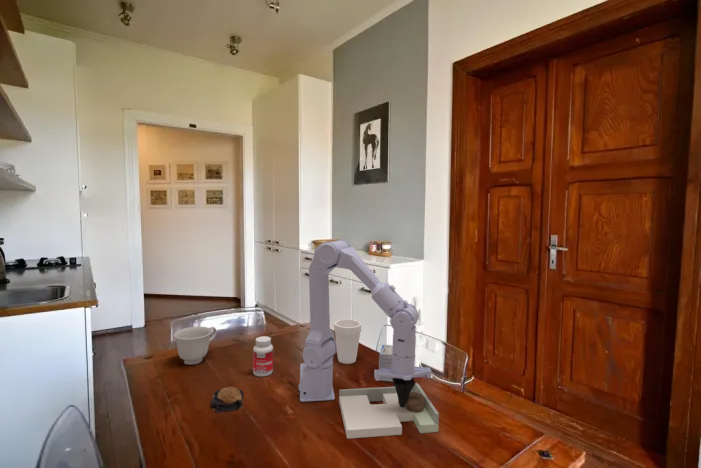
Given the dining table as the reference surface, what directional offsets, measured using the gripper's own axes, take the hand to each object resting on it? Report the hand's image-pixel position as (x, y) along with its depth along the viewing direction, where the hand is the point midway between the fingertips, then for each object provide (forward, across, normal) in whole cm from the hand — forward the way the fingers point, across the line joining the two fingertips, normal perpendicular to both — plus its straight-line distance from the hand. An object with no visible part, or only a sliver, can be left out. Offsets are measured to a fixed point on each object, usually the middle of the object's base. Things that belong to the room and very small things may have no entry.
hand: (401, 405), depth 91 cm
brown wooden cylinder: (+1, +3, 0) cm, 3 cm away
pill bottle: (+3, -37, +28) cm, 47 cm away
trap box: (+3, -4, 0) cm, 5 cm away
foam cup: (+3, -9, +35) cm, 36 cm away
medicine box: (+3, +2, +22) cm, 22 cm away
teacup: (+3, -60, +40) cm, 72 cm away
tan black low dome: (+4, -45, +12) cm, 47 cm away
